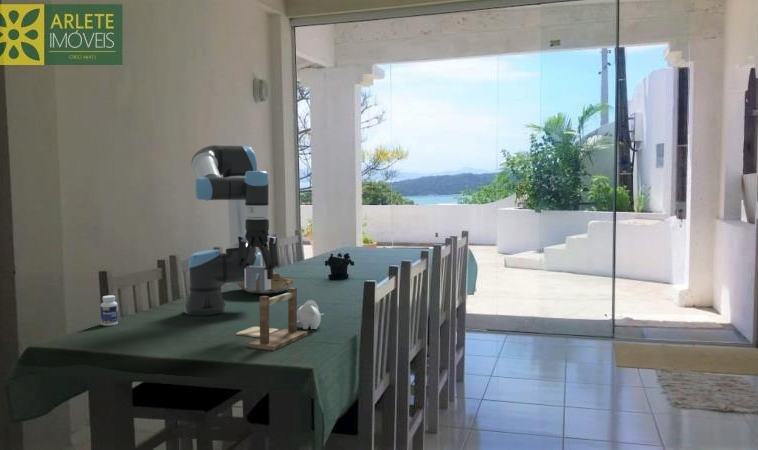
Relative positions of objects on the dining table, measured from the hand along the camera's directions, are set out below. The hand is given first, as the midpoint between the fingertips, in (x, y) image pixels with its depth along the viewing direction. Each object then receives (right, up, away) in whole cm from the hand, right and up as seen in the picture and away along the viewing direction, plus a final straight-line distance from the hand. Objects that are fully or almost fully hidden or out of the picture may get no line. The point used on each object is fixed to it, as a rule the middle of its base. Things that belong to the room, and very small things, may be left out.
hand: (257, 288), depth 198 cm
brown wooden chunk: (-14, -10, +76) cm, 77 cm away
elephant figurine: (+15, -15, +9) cm, 23 cm away
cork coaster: (0, -15, +1) cm, 15 cm away
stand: (+9, -16, -9) cm, 20 cm away
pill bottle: (-54, -14, +12) cm, 57 cm away
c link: (0, -1, 0) cm, 1 cm away
